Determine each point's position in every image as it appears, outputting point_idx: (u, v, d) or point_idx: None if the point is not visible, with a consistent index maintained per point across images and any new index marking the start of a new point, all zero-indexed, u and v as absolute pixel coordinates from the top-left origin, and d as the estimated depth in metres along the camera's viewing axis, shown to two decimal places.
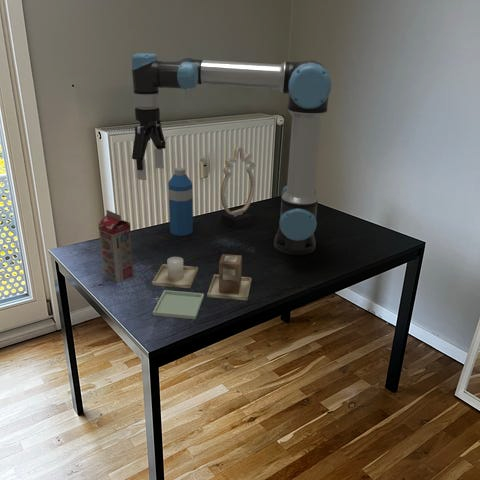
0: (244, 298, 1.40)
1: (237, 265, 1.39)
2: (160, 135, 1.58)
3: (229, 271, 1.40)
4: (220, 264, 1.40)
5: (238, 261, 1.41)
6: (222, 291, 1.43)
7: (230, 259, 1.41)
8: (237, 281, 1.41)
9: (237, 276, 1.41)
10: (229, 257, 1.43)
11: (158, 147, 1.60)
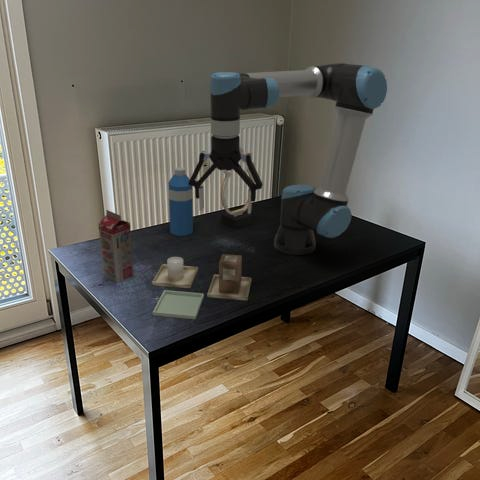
0: (244, 298, 1.40)
1: (237, 265, 1.39)
2: (251, 174, 1.28)
3: (229, 271, 1.40)
4: (220, 264, 1.40)
5: (238, 261, 1.41)
6: (222, 291, 1.43)
7: (230, 259, 1.41)
8: (237, 281, 1.41)
9: (237, 276, 1.41)
10: (229, 257, 1.43)
11: None
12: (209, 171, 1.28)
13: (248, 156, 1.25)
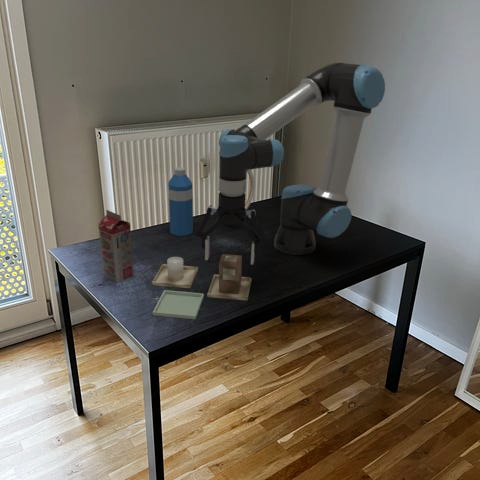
0: (244, 298, 1.40)
1: (237, 265, 1.39)
2: None
3: (229, 271, 1.40)
4: (220, 264, 1.40)
5: (238, 261, 1.41)
6: (222, 291, 1.43)
7: (230, 259, 1.41)
8: (237, 281, 1.41)
9: (237, 276, 1.41)
10: (229, 257, 1.43)
11: None
12: (215, 224, 1.36)
13: (253, 212, 1.34)
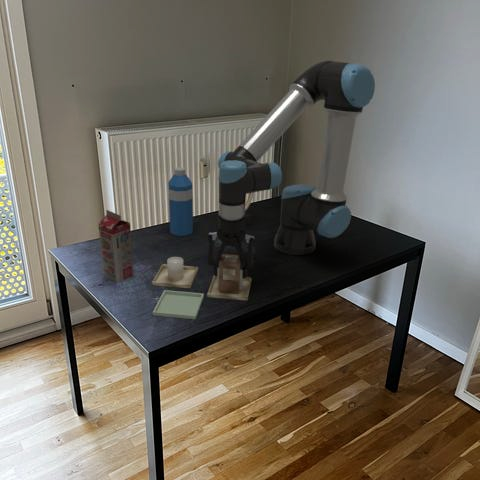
0: (244, 298, 1.40)
1: (237, 265, 1.39)
2: (248, 254, 1.40)
3: (229, 271, 1.40)
4: (220, 264, 1.40)
5: (238, 261, 1.41)
6: (222, 291, 1.43)
7: (230, 259, 1.41)
8: (237, 281, 1.41)
9: (237, 276, 1.41)
10: (229, 257, 1.43)
11: None
12: (221, 250, 1.40)
13: (252, 239, 1.37)
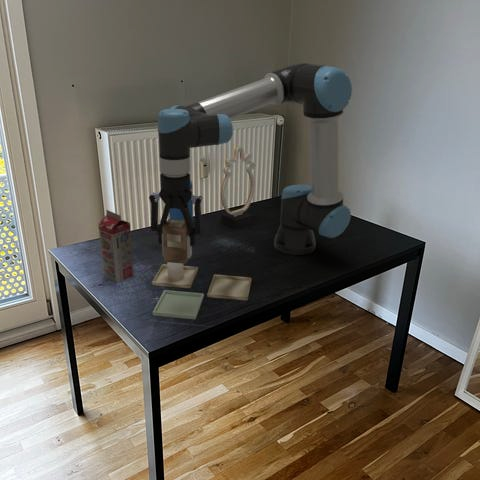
0: (244, 298, 1.40)
1: (182, 230, 1.23)
2: (195, 217, 1.24)
3: (174, 236, 1.24)
4: (163, 229, 1.24)
5: (184, 226, 1.25)
6: (167, 260, 1.27)
7: (176, 224, 1.25)
8: (183, 248, 1.25)
9: (183, 243, 1.25)
10: (175, 222, 1.27)
11: None
12: (165, 213, 1.24)
13: (198, 200, 1.21)
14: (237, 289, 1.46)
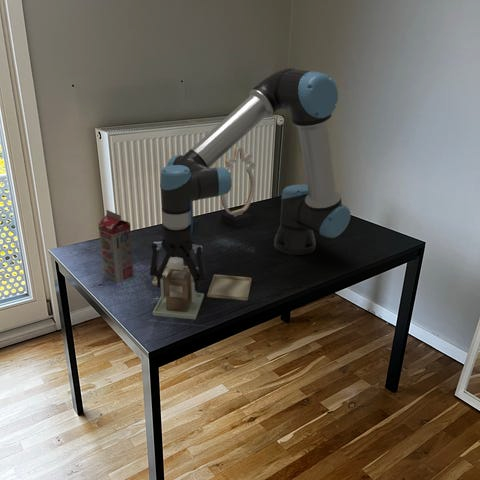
0: (244, 298, 1.40)
1: (184, 281, 1.30)
2: None
3: (176, 287, 1.30)
4: (166, 280, 1.30)
5: (186, 277, 1.31)
6: (170, 309, 1.34)
7: (177, 275, 1.32)
8: (185, 298, 1.32)
9: (185, 293, 1.31)
10: (177, 272, 1.33)
11: None
12: (165, 260, 1.30)
13: (199, 249, 1.27)
14: (237, 289, 1.46)
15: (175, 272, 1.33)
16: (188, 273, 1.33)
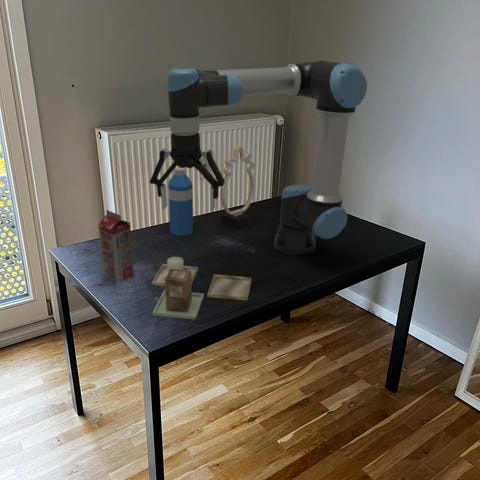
0: (244, 298, 1.40)
1: (184, 281, 1.30)
2: None
3: (176, 287, 1.30)
4: (166, 280, 1.30)
5: (186, 277, 1.31)
6: (170, 309, 1.34)
7: (177, 275, 1.32)
8: (185, 298, 1.32)
9: (185, 293, 1.31)
10: (177, 272, 1.33)
11: None
12: (170, 169, 1.27)
13: (208, 153, 1.24)
14: (237, 289, 1.46)
15: (175, 272, 1.33)
16: (188, 273, 1.33)
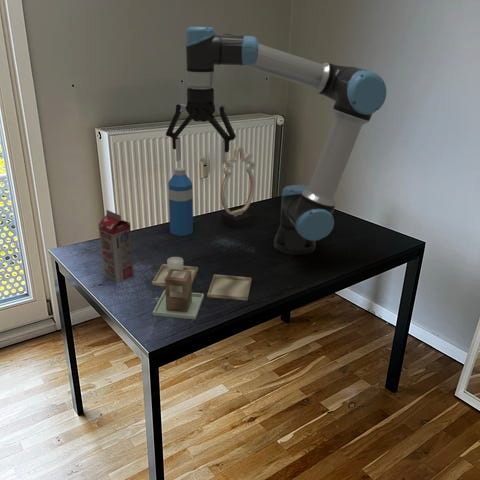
0: (244, 298, 1.40)
1: (184, 281, 1.30)
2: (225, 125, 1.36)
3: (176, 287, 1.30)
4: (166, 280, 1.30)
5: (186, 277, 1.31)
6: (170, 309, 1.34)
7: (177, 275, 1.32)
8: (185, 298, 1.32)
9: (185, 293, 1.31)
10: (177, 272, 1.33)
11: None
12: (185, 122, 1.37)
13: (221, 107, 1.34)
14: (237, 289, 1.46)
15: (175, 272, 1.33)
16: (188, 273, 1.33)
